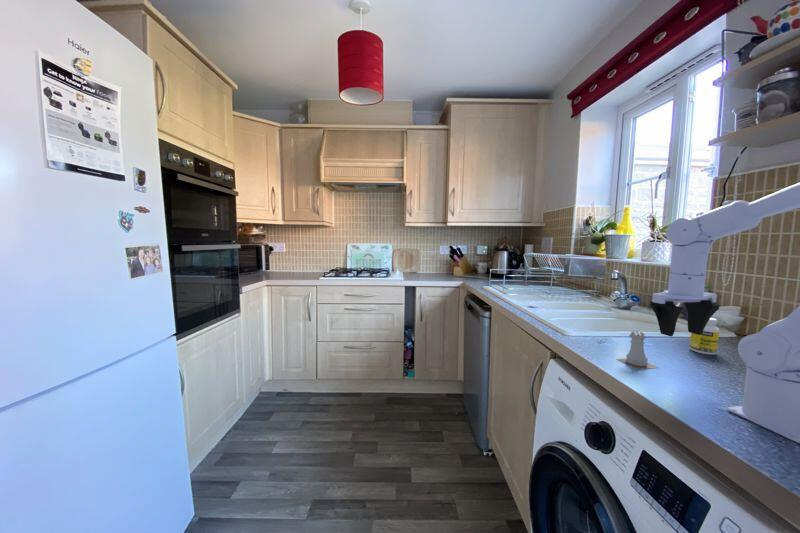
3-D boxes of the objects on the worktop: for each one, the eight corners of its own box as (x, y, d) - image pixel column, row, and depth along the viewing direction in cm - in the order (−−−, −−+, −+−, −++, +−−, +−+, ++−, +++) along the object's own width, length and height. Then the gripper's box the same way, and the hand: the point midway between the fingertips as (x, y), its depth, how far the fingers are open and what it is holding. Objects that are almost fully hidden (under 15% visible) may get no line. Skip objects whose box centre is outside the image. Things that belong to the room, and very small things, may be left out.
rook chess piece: (653, 366, 71) (654, 335, 71) (635, 367, 71) (636, 335, 71) (638, 359, 76) (639, 329, 75) (621, 360, 76) (622, 330, 75)
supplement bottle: (698, 354, 81) (702, 319, 80) (684, 347, 86) (687, 314, 85) (722, 356, 80) (726, 321, 79) (706, 349, 85) (710, 316, 84)
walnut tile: (658, 370, 72) (658, 367, 72) (637, 371, 71) (638, 369, 71) (635, 360, 77) (635, 357, 77) (615, 361, 77) (616, 359, 76)
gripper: (693, 271, 69) (687, 327, 70) (641, 272, 67) (635, 329, 68) (731, 275, 62) (723, 337, 63) (674, 276, 60) (668, 340, 61)
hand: (680, 334), depth 65 cm, fingers open, 7 cm apart
